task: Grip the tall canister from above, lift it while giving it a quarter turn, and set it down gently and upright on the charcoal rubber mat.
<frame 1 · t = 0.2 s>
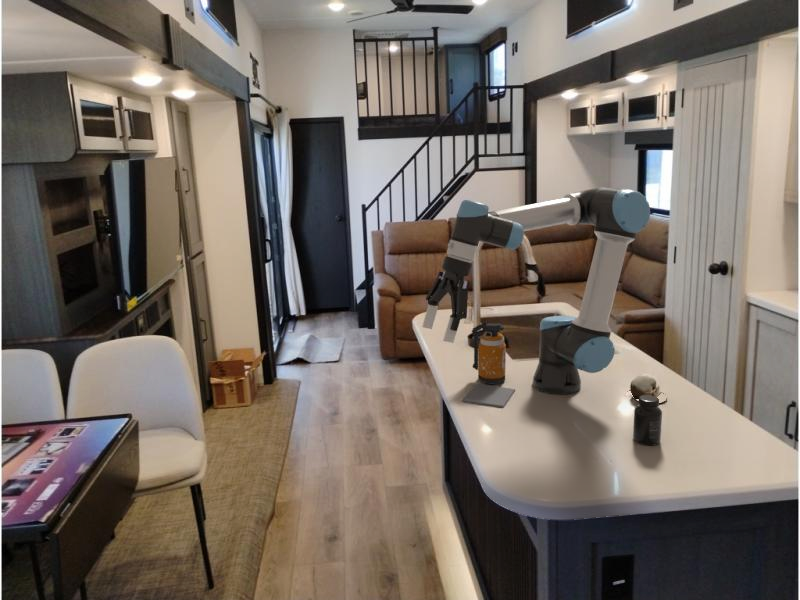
hand: (437, 334, 170), 28 cm above the worktop, tool tilted 20°, fingers open, 13 cm apart
mat: (489, 396, 198), on the worktop
supplement bottle: (646, 440, 167), on the worktop
skull: (645, 398, 194), on the worktop
canister: (488, 380, 211), on the worktop
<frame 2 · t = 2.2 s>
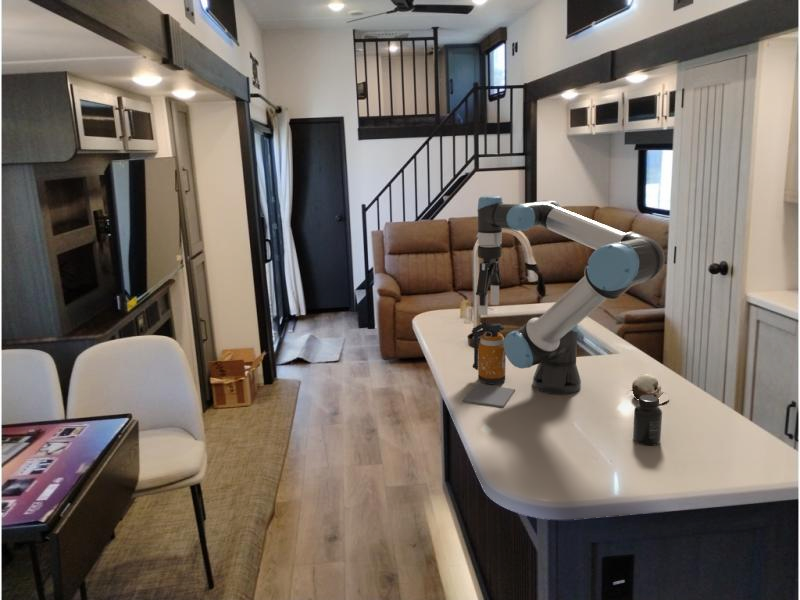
hand: (489, 309, 205), 25 cm above the worktop, tool pointing down, fingers open, 13 cm apart
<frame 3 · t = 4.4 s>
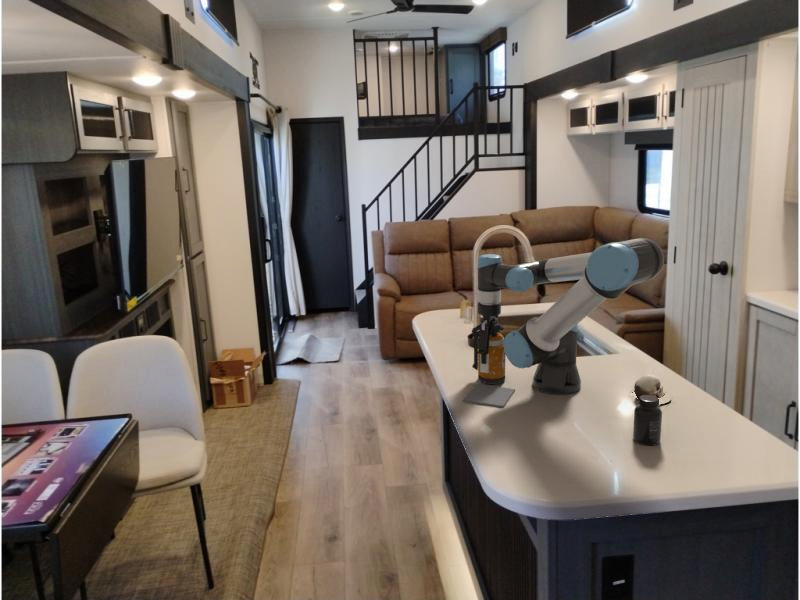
hand: (488, 367, 210), 5 cm above the worktop, tool pointing down, fingers closed on canister, 9 cm apart
canister: (488, 380, 211), on the worktop, touching gripper
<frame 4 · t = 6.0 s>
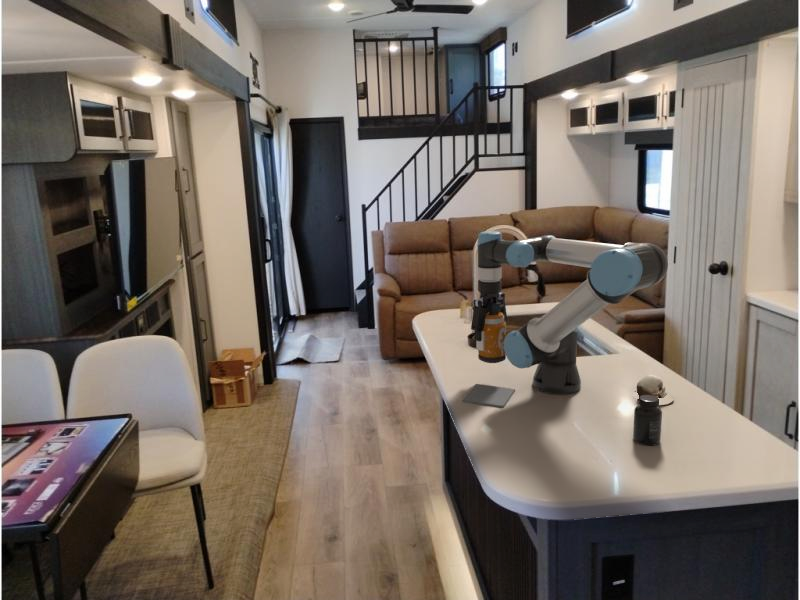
hand: (489, 346, 208), 12 cm above the worktop, tool pointing down, fingers closed on canister, 9 cm apart
canister: (489, 360, 209), point 7 cm above the worktop, touching gripper
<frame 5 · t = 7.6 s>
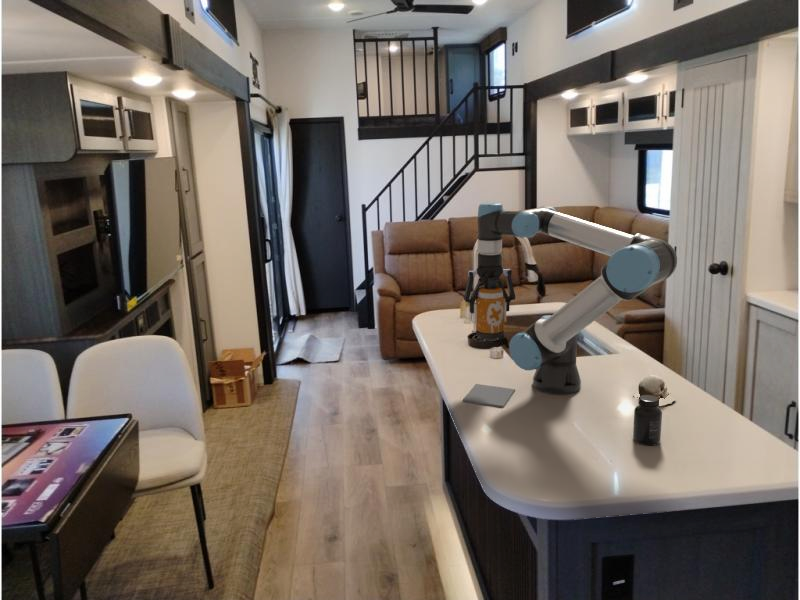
hand: (489, 321, 203), 21 cm above the worktop, tool pointing down, fingers closed on canister, 9 cm apart
canister: (488, 335, 204), point 17 cm above the worktop, touching gripper
when the fingers open (7 cm above the worktop, at t = 10.6 s): canister drops 1 cm, resting on mat.
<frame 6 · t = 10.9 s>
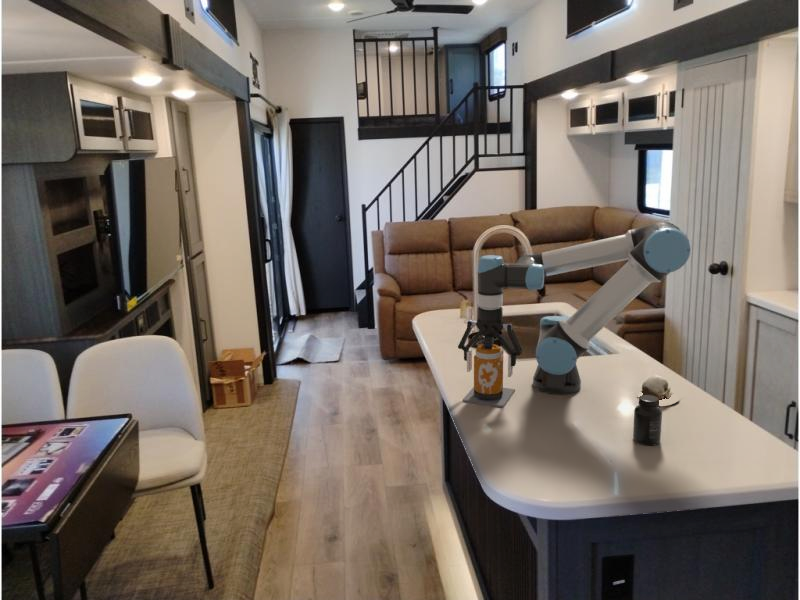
hand: (489, 373, 196), 8 cm above the worktop, tool pointing down, fingers open, 12 cm apart
canister: (488, 394, 198), resting on mat
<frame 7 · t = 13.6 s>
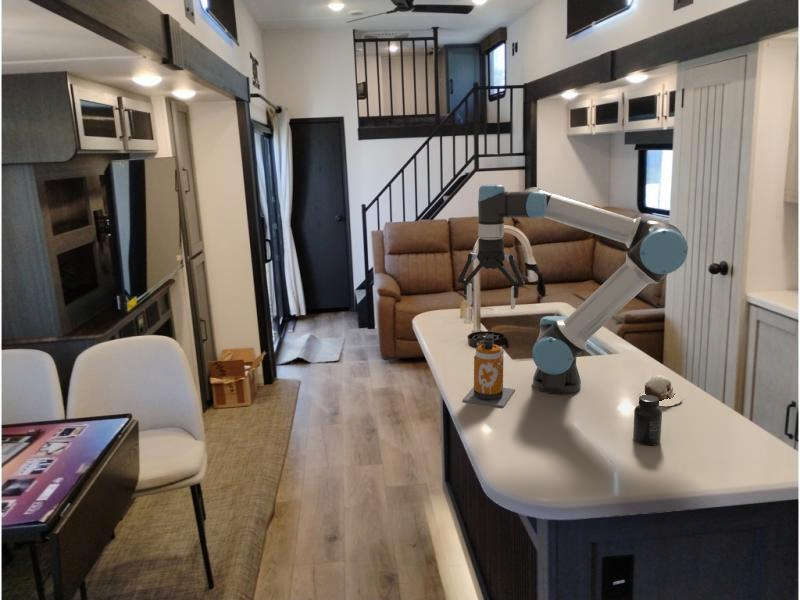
hand: (490, 306, 192), 29 cm above the worktop, tool pointing down, fingers open, 13 cm apart
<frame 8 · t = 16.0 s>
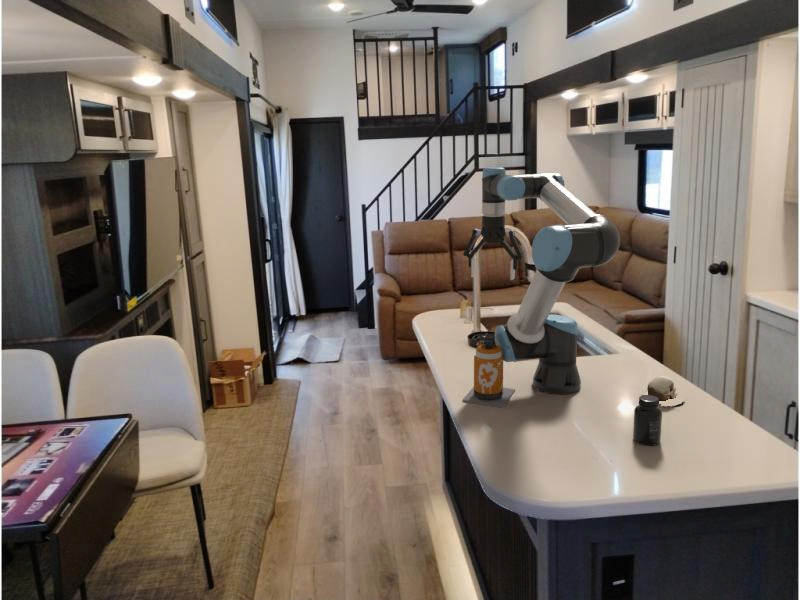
hand: (492, 277, 214), 33 cm above the worktop, tool pointing down, fingers open, 13 cm apart
at the end: canister 0.2 cm off-centre on the mat, point 0.4 cm above the mat's base; canister tilted 0°; the gripper is holding nothing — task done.
